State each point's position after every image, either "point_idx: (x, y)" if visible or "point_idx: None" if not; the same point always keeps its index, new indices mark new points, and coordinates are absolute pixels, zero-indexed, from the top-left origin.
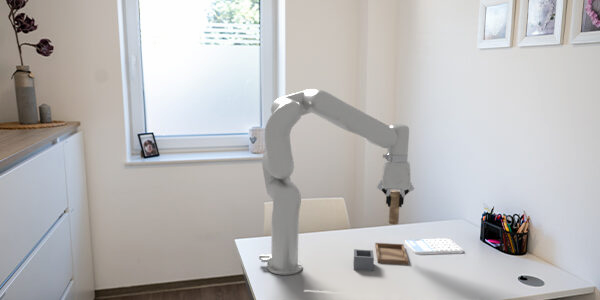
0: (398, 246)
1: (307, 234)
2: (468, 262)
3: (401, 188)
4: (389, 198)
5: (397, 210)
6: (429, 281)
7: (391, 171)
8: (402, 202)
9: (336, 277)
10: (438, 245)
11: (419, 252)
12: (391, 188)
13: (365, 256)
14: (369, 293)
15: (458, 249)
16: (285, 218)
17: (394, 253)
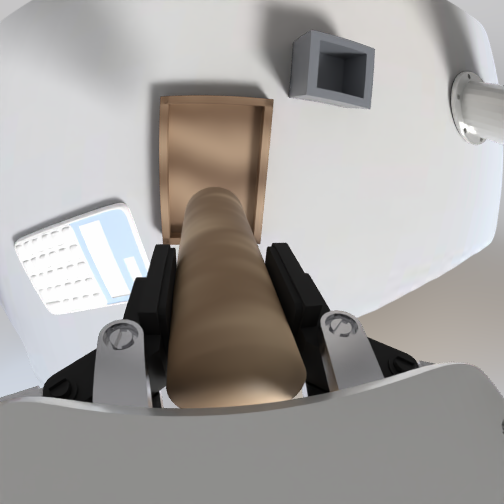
0: (180, 235)
1: (405, 288)
2: (5, 178)
3: (124, 424)
4: (305, 291)
5: (194, 228)
6: (122, 11)
7: None
8: (142, 286)
9: (390, 33)
10: (65, 266)
11: (113, 205)
12: (377, 388)
13: (339, 44)
14: None
15: (21, 246)
16: None
17: (198, 184)
